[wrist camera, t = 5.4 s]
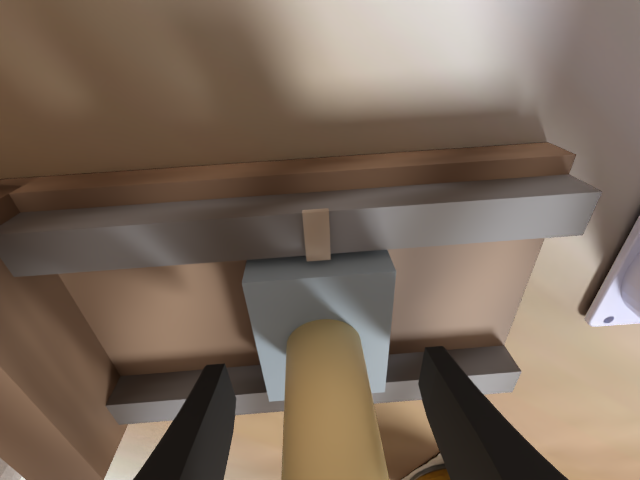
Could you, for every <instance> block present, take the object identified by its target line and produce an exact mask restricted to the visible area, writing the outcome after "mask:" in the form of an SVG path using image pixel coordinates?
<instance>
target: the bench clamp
mask: <svg viewBox="0 0 640 480" xmlns="http://www.w3.org/2000/svg"><path fill="white" fill-rule="evenodd" d="M575 156H576V154H573V153H571V152H569V151H567V150H564V149H562V148H560V147H557V146H555V145H553V144H550V143H548V142H545V143H530V144H515V145H501V146H486V147H471V148H456V149H442V150H427V151H412V152H397V153H383V154H368V155H353V156H338V157H324V158H309V159H294V160H279V161H265V162H250V163H235V164H220V165H206V166H191V167H176V168H161V169H147V170H132V171H117V172H102V173H88V174H73V175H58V176H44V177H29V178H14V179H0V458H1V459H2V460H3V461H4V462H6V463H7V464H8V465H9V466H10V467H12V468H13V469H14V470H15V471H16V472H18V473H19V474H20V475H21V476H22V477H24V478H25V479H26V480H104V478H105V476H106V473H107V471H108V469H109V467H110V464H111V462H112V460H113V457H114V455H115V453H116V451H117V448H118V446H119V444H120V441H121V439H122V437H123V434H124V432H125V430H126V428H127V425H128V424H135V423H147V422H159V421H171V420H174V418H175V417H176V415H177V414H178V412H179V411H180V409H181V407H182V406H183V404H184V402H185V400H186V399H187V397H188V395H189V394H190V392H191V390H192V388H193V387H194V385H195V383H196V381H197V380H198V378H199V376H200V374H201V372H202V370H203V369H204V367H205V366H206V365H211V364H224V363H225V365H226V368H227V371H228V374H229V378H230V381H231V384H232V387H233V390H234V393H235V396H236V409H235V415H243V414H255V413H267V412H279V411H284V401H271V402H269V398H268V394H267V390H266V386H265V381H264V377H263V373H262V368H261V364H260V360H259V356H258V351H257V347H256V343H255V338H254V334H253V330H252V325H251V321H250V317H249V313H248V308H247V304H246V300H245V295H244V291H243V287H242V279H243V275H244V271H245V266H246V262H247V260H253V259H266V258H280V257H293V256H306V260H307V261H320V260H331V254H334V253H348V252H361V251H375V250H388V252H389V255H390V257H391V260H392V262H393V265H394V267H395V269H396V281H395V291H394V302H393V312H392V323H391V333H390V344H389V354H388V365H387V375H386V386H385V392H380V393H372V398H373V403H374V404H375V403H387V402H399V401H411V400H422V397H421V393H420V389H419V385H418V382H419V377H420V371H421V366H422V361H423V355H424V350H425V347H436V346H443V347H445V348H446V350H447V351H448V352H449V353H450V355H451V356H452V357H453V358H454V360H455V361H456V362H457V363H458V365H459V366H460V367H461V368H462V370H463V371H464V372H465V373H466V374H467V376H468V377H469V378H470V379H471V380H472V382H473V383H474V384H475V385H476V386H477V388H478V389H479V390H480V391H481V392H482V393H483V394H495V393H507V392H512V391H513V389H514V387H515V385H516V383H517V380H518V378H519V376H520V374H521V370H520V369H519V367H518V366H517V364H516V363H515V361H514V360H513V358H512V357H511V355H510V354H509V352H508V350H507V349H506V347H505V346H504V344H505V342H506V339H507V336H508V334H509V331H510V328H511V326H512V323H513V320H514V318H515V315H516V313H517V310H518V307H519V305H520V302H521V299H522V297H523V294H524V291H525V289H526V286H527V283H528V281H529V278H530V276H531V273H532V270H533V268H534V265H535V262H536V260H537V257H538V254H539V252H540V249H541V246H542V244H543V241H544V238H551V237H565V236H578V235H583V234H584V231H585V229H586V227H587V225H588V222H589V220H590V218H591V216H592V214H593V211H594V209H595V207H596V205H597V202H598V200H599V198H600V196H601V194H602V191H600V190H598V189H596V188H594V187H592V186H590V185H589V184H587V183H585V182H583V181H581V180H579V179H577V178H575V177H573V176H571V175H569V172H570V170H571V167H572V164H573V162H574V159H575Z"/></svg>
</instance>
